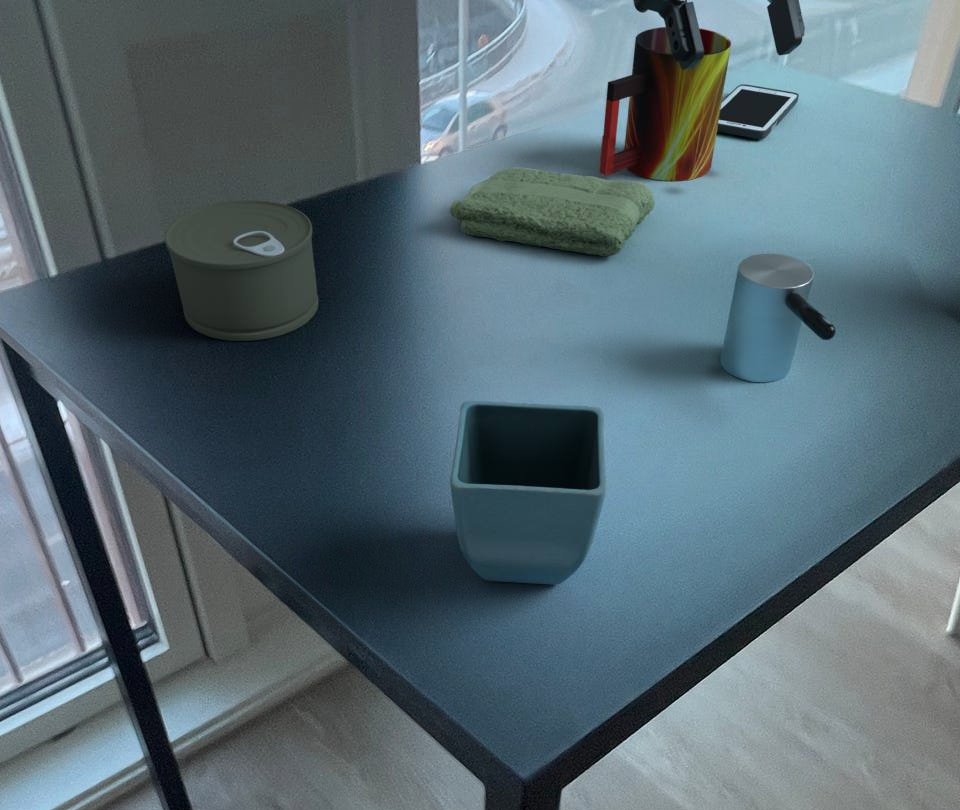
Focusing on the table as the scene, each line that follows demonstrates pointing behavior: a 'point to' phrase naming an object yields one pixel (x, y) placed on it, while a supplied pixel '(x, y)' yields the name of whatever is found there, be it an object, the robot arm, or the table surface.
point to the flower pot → (527, 488)
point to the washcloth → (555, 210)
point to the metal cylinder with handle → (769, 317)
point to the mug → (666, 110)
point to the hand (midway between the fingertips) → (743, 57)
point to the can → (244, 269)
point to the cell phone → (754, 110)
